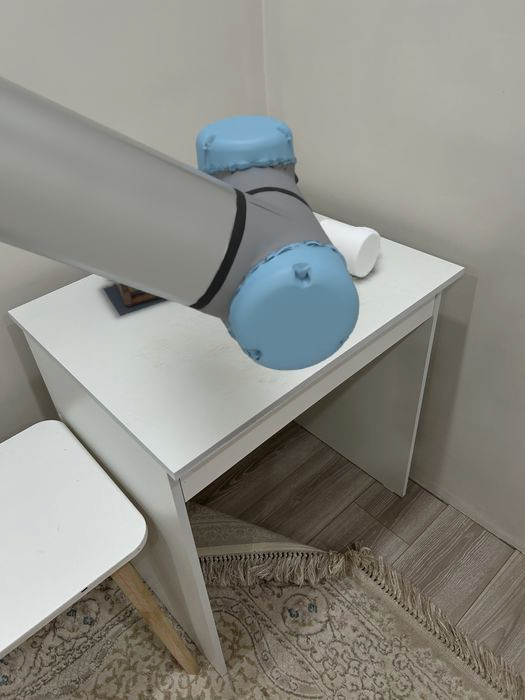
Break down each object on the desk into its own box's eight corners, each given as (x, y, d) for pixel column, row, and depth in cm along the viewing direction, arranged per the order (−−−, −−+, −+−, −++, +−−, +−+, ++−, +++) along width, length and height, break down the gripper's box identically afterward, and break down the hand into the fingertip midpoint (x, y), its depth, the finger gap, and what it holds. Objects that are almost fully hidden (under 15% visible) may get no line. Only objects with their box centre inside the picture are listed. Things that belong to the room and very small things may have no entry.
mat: (120, 315, 92) (120, 315, 92) (103, 288, 99) (103, 288, 99) (216, 283, 98) (216, 283, 98) (194, 260, 105) (194, 259, 105)
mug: (354, 285, 95) (357, 244, 90) (308, 268, 100) (308, 228, 95) (390, 256, 102) (394, 217, 97) (345, 242, 107) (347, 204, 102)
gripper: (165, 301, 58) (113, 217, 75) (275, 269, 62) (202, 196, 78) (151, 238, 53) (100, 163, 70) (272, 206, 57) (195, 143, 74)
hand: (154, 180), depth 74 cm, fingers closed
